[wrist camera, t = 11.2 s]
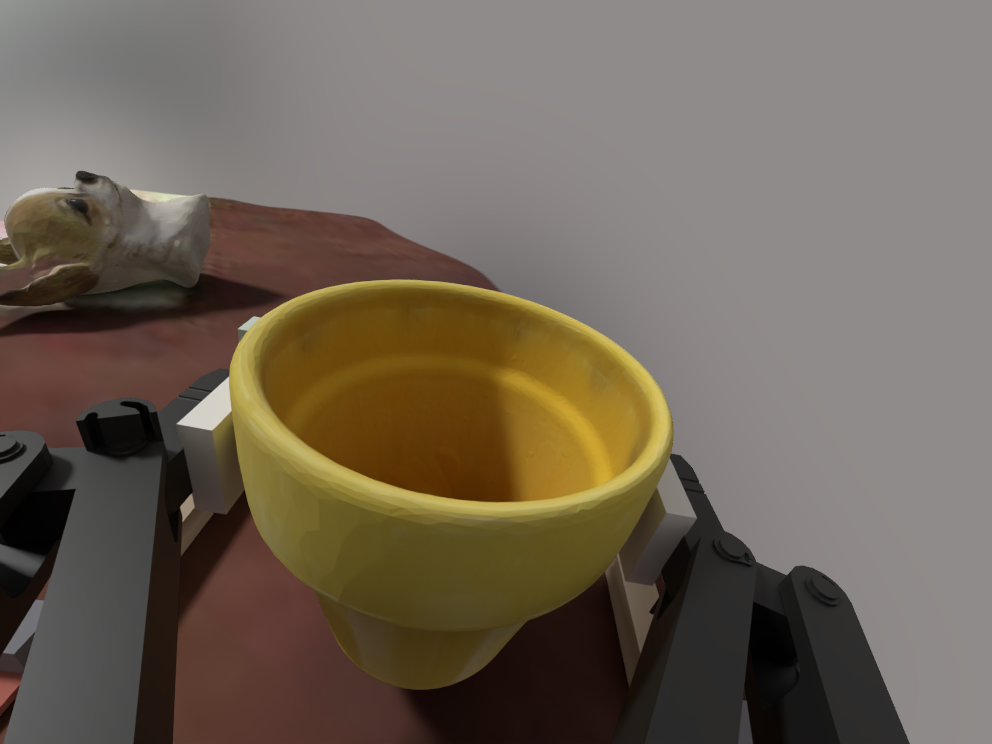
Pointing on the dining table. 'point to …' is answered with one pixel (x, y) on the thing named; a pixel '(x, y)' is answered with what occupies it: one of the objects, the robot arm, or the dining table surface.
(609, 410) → the plant pot
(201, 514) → the box
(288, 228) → the dining table surface
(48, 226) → the ceramic sculpture
